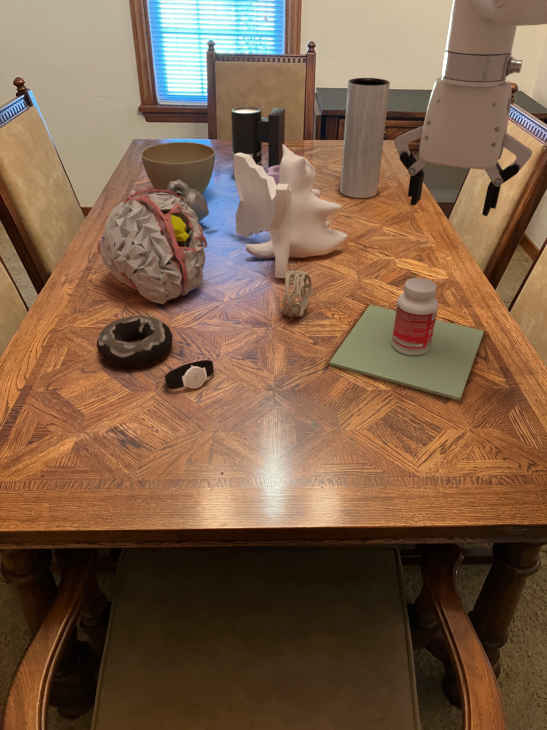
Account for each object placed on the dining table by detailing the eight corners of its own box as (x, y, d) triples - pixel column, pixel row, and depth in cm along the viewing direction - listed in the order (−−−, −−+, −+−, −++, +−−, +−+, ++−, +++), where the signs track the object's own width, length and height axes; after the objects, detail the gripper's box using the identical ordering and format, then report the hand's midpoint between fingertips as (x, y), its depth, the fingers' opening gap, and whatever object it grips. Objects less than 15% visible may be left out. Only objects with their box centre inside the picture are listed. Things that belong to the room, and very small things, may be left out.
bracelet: (279, 323, 99) (279, 282, 94) (289, 301, 105) (290, 261, 100) (302, 326, 98) (303, 285, 93) (311, 304, 104) (313, 264, 99)
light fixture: (237, 171, 168) (235, 105, 158) (284, 173, 166) (285, 107, 156) (229, 181, 160) (227, 113, 150) (278, 184, 158) (278, 115, 148)
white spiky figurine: (365, 268, 116) (377, 161, 104) (268, 287, 109) (268, 175, 97) (312, 225, 135) (316, 130, 122) (226, 238, 128) (221, 140, 116)
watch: (174, 399, 82) (172, 379, 80) (159, 383, 85) (156, 363, 83) (220, 380, 85) (219, 360, 83) (204, 365, 89) (203, 345, 86)
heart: (216, 233, 130) (211, 177, 124) (175, 238, 127) (168, 182, 122) (206, 224, 138) (200, 173, 133) (167, 229, 136) (160, 176, 130)
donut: (176, 367, 88) (174, 346, 86) (97, 377, 86) (92, 355, 84) (171, 328, 97) (169, 307, 95) (100, 336, 95) (95, 315, 93)
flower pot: (133, 206, 144) (126, 157, 137) (170, 184, 158) (165, 139, 151) (196, 216, 139) (192, 166, 132) (229, 193, 152) (227, 146, 145)
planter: (337, 197, 150) (345, 84, 135) (342, 184, 158) (350, 76, 143) (376, 200, 149) (388, 86, 133) (378, 187, 157) (391, 78, 141)
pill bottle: (432, 358, 89) (444, 295, 83) (392, 355, 90) (401, 293, 83) (427, 336, 94) (439, 276, 88) (389, 334, 95) (398, 274, 88)
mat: (483, 333, 96) (484, 330, 96) (459, 401, 82) (460, 398, 81) (369, 307, 103) (369, 304, 103) (328, 365, 89) (329, 362, 88)
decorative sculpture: (128, 336, 109) (156, 292, 92) (70, 244, 109) (87, 184, 92) (205, 298, 119) (243, 252, 102) (151, 214, 119) (180, 155, 102)
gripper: (553, 68, 69) (519, 208, 79) (411, 60, 75) (395, 191, 85) (549, 78, 63) (512, 226, 73) (396, 68, 69) (381, 206, 79)
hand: (450, 207), depth 79 cm, fingers open, 9 cm apart
